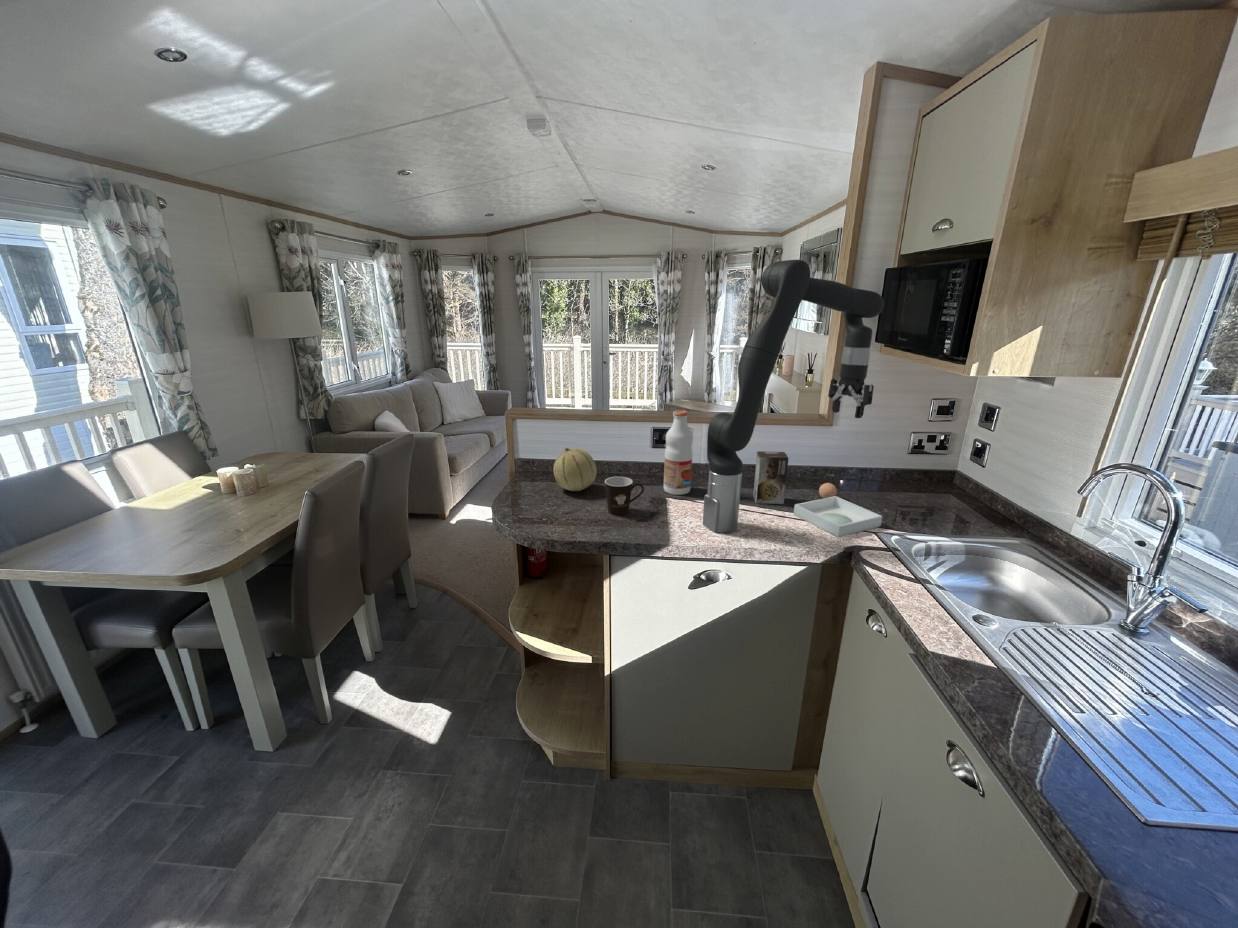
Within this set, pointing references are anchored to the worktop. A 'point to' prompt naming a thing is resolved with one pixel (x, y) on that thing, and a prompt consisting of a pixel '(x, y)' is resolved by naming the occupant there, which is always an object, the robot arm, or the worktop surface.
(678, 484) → the fruit juice
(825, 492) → the terracotta ball
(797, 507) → the tray
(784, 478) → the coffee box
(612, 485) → the coffee mug
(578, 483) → the cantaloupe
